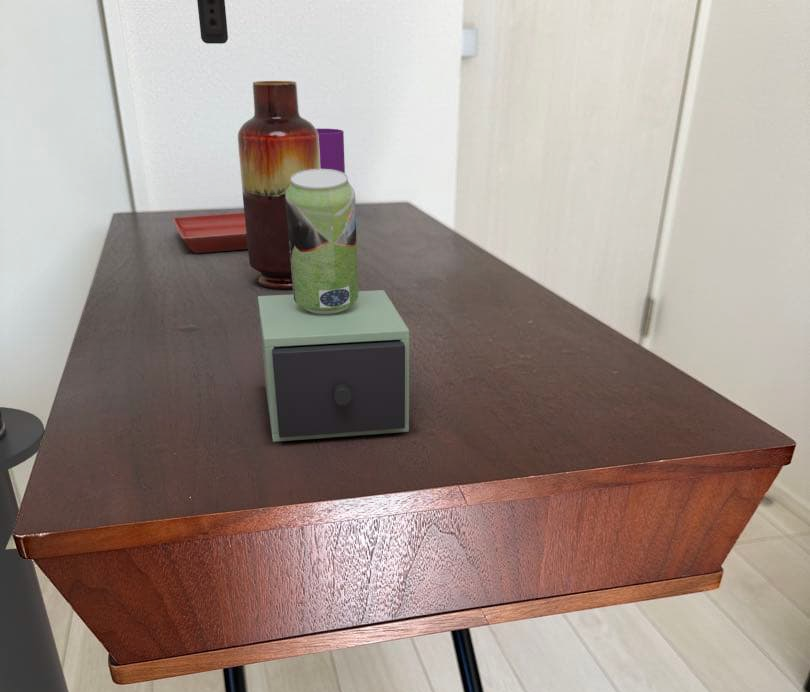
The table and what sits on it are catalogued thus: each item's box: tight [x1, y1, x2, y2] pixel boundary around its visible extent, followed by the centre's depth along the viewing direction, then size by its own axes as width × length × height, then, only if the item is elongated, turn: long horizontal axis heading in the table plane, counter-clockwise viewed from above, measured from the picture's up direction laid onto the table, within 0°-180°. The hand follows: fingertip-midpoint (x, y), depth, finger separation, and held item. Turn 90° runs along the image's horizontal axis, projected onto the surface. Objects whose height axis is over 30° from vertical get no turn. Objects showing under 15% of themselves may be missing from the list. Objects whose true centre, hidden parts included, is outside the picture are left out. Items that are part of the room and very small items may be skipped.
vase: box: [237, 80, 321, 290], centre depth 118 cm, size 11×11×26 cm
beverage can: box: [285, 169, 359, 314], centre depth 75 cm, size 6×7×12 cm
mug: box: [316, 128, 346, 174], centre depth 169 cm, size 9×16×15 cm, turn 102°
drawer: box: [272, 340, 405, 437], centre depth 78 cm, size 14×11×8 cm
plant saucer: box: [172, 212, 248, 254], centre depth 147 cm, size 18×18×3 cm
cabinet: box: [257, 289, 410, 443], centre depth 80 cm, size 14×13×10 cm
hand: (215, 42), depth 74 cm, fingers open, 8 cm apart
